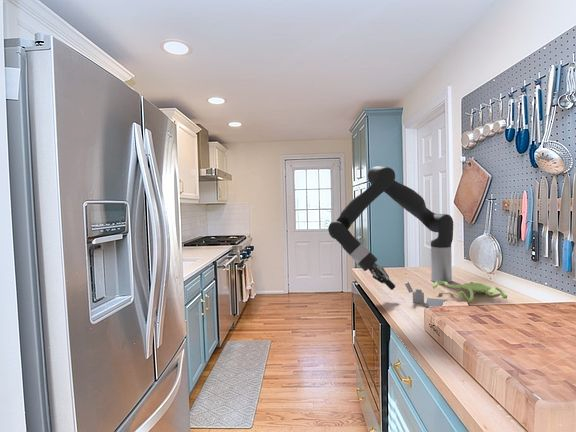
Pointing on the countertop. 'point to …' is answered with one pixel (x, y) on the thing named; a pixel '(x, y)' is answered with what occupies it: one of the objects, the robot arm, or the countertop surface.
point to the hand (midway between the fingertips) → (393, 288)
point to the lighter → (416, 294)
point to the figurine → (472, 289)
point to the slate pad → (434, 302)
